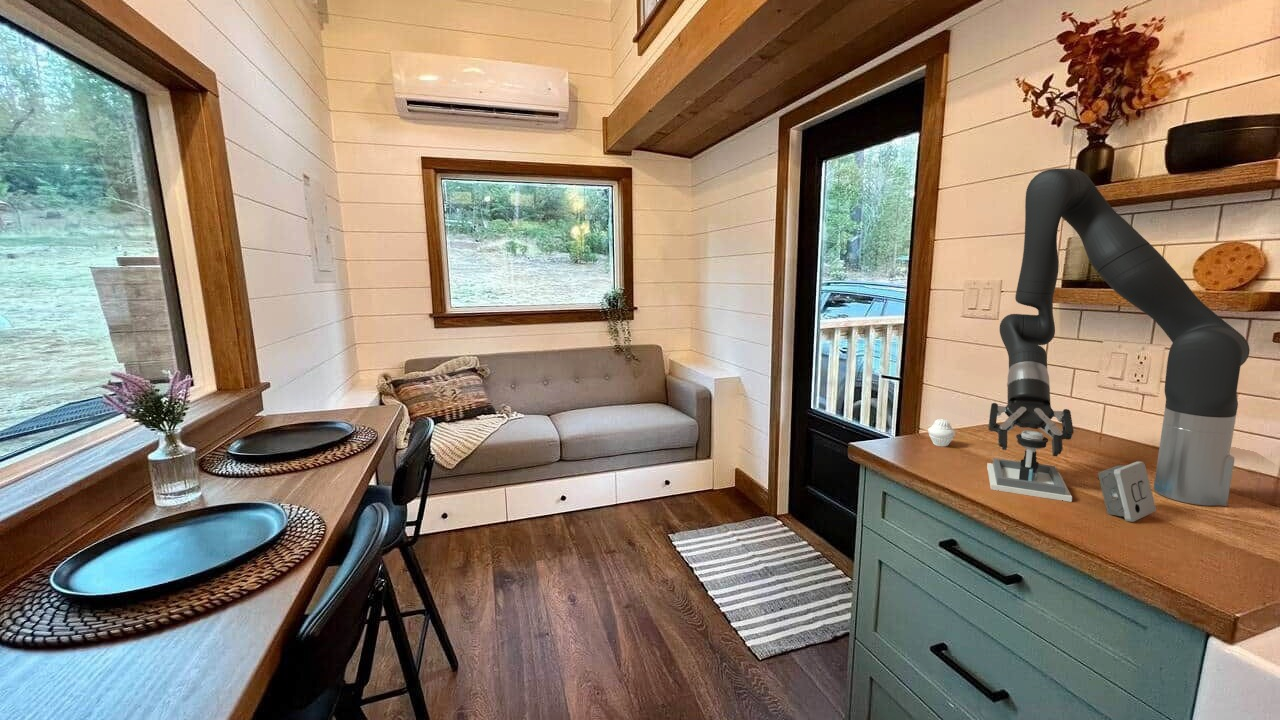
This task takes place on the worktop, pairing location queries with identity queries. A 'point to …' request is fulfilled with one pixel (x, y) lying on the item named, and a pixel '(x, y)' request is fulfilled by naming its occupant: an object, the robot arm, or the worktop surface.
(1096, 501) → the worktop surface
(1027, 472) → the push button
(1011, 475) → the grey square tray
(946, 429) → the muffin
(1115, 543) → the worktop surface
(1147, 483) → the electrical outlet
